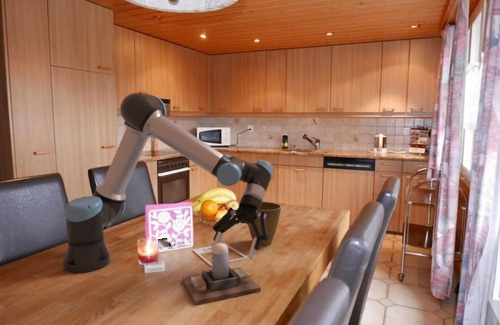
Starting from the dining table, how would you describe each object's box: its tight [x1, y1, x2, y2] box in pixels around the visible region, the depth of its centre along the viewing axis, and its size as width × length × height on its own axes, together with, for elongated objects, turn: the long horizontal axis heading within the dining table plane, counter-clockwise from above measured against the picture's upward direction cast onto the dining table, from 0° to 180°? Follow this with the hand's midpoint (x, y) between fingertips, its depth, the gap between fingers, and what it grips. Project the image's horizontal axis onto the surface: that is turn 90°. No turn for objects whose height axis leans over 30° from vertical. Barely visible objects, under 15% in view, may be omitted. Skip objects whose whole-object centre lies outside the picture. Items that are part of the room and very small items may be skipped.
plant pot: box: [247, 201, 282, 247], centre depth 148 cm, size 15×15×16 cm
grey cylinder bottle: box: [211, 242, 230, 281], centre depth 110 cm, size 5×5×12 cm
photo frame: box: [192, 242, 249, 268], centre depth 136 cm, size 15×1×18 cm
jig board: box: [181, 266, 262, 306], centre depth 110 cm, size 20×16×4 cm
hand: (231, 254), depth 115 cm, fingers open, 13 cm apart
